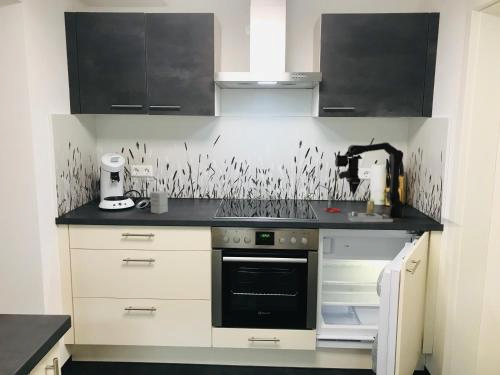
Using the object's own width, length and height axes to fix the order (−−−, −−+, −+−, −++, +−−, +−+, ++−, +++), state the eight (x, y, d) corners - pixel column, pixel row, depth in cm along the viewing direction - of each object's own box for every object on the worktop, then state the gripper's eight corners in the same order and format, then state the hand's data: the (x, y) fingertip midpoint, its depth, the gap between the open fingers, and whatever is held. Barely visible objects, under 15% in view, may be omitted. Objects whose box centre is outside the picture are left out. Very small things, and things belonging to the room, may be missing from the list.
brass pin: (372, 215, 244) (373, 200, 243) (374, 216, 240) (375, 202, 239) (365, 215, 244) (366, 200, 243) (367, 216, 240) (368, 201, 239)
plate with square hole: (386, 218, 237) (386, 210, 237) (392, 222, 227) (393, 214, 227) (347, 217, 237) (347, 210, 236) (352, 221, 227) (352, 214, 226)
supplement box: (159, 210, 252) (158, 190, 250) (168, 211, 248) (167, 191, 246) (150, 212, 245) (150, 191, 244) (159, 213, 242) (159, 193, 240)
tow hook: (332, 209, 262) (322, 210, 256) (333, 189, 261) (324, 190, 255) (342, 211, 256) (333, 213, 250) (344, 191, 254) (334, 192, 248)
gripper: (337, 165, 246) (336, 190, 249) (340, 168, 228) (340, 195, 230) (356, 165, 245) (355, 190, 247) (361, 168, 227) (360, 195, 229)
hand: (352, 193), depth 239 cm, fingers open, 9 cm apart
